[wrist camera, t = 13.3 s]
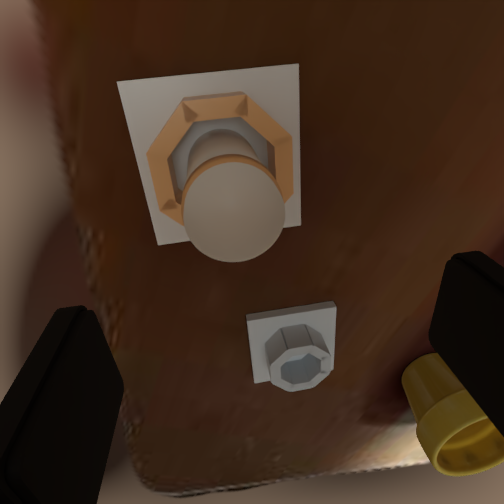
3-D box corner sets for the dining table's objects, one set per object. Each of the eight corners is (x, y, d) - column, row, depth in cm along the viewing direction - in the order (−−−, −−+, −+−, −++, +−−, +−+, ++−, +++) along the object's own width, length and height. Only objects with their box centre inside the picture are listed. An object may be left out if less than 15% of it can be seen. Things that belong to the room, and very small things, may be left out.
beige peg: (254, 122, 24) (286, 157, 15) (259, 192, 27) (289, 256, 18) (179, 130, 24) (169, 172, 15) (192, 201, 26) (190, 271, 18)
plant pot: (420, 331, 38) (483, 406, 30) (482, 350, 42) (555, 423, 33) (370, 391, 42) (413, 472, 34) (430, 404, 46) (483, 481, 37)
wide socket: (295, 63, 23) (311, 63, 20) (297, 220, 29) (311, 241, 26) (119, 81, 22) (105, 84, 19) (159, 239, 28) (154, 263, 25)
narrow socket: (333, 300, 34) (348, 327, 31) (330, 362, 39) (343, 391, 35) (245, 314, 34) (251, 343, 30) (253, 376, 38) (258, 407, 35)
